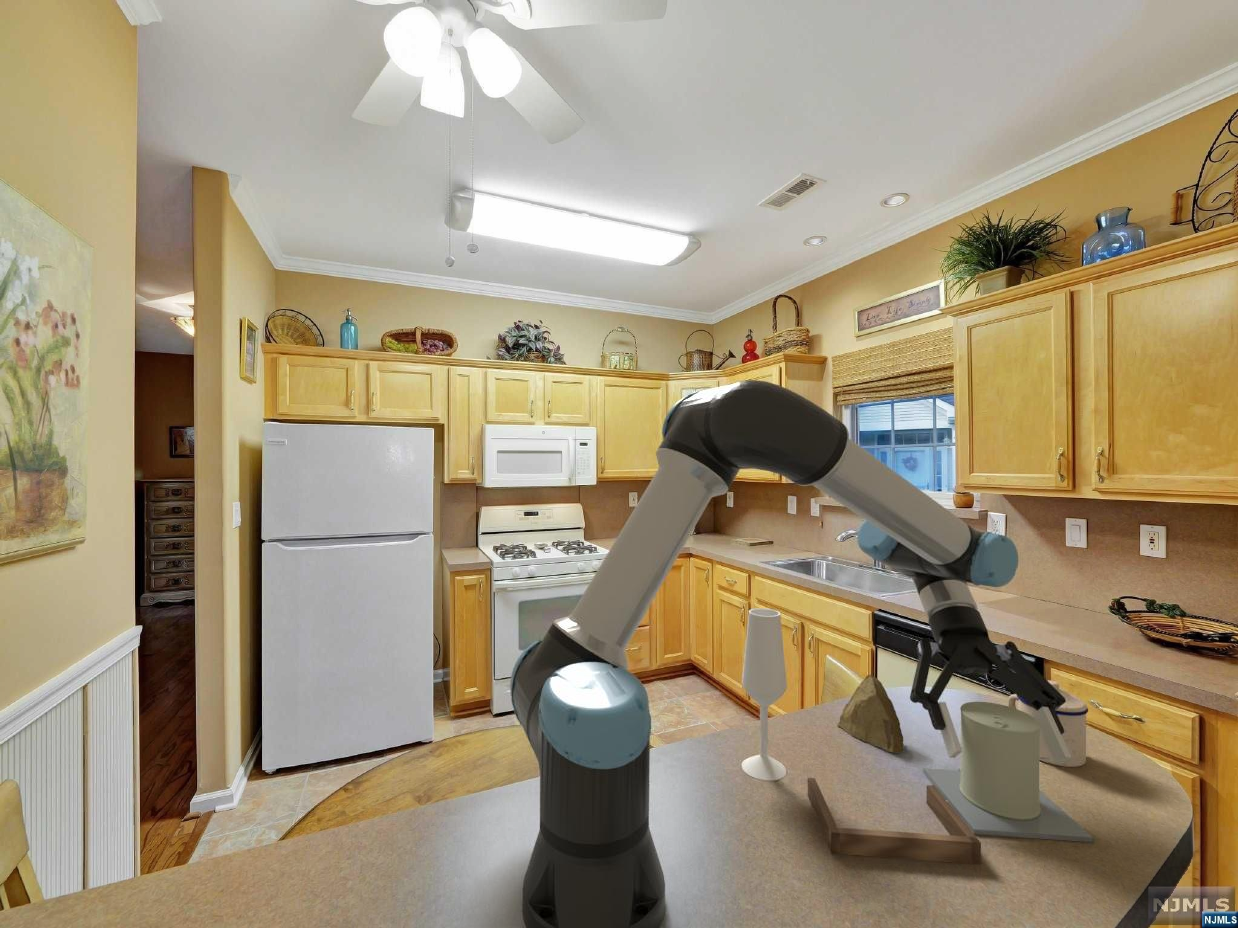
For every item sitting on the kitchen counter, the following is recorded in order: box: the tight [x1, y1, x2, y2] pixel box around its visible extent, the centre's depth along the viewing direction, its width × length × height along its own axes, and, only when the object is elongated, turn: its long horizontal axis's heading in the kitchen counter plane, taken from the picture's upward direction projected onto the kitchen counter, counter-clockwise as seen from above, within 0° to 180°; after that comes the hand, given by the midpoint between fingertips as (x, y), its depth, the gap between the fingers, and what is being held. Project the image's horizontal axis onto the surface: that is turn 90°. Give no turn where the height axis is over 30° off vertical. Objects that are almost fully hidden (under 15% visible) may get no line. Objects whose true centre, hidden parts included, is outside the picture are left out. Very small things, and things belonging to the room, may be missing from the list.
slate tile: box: [922, 767, 1094, 843], centre depth 75 cm, size 14×14×1 cm
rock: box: [836, 674, 904, 754], centre depth 93 cm, size 11×9×10 cm
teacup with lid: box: [1007, 679, 1089, 768], centre depth 90 cm, size 12×9×12 cm
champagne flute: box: [741, 607, 788, 782], centre depth 84 cm, size 7×7×24 cm
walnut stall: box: [807, 777, 982, 865], centre depth 70 cm, size 17×12×2 cm
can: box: [959, 701, 1041, 820], centre depth 75 cm, size 9×9×12 cm
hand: (1009, 757), depth 73 cm, fingers open, 13 cm apart
